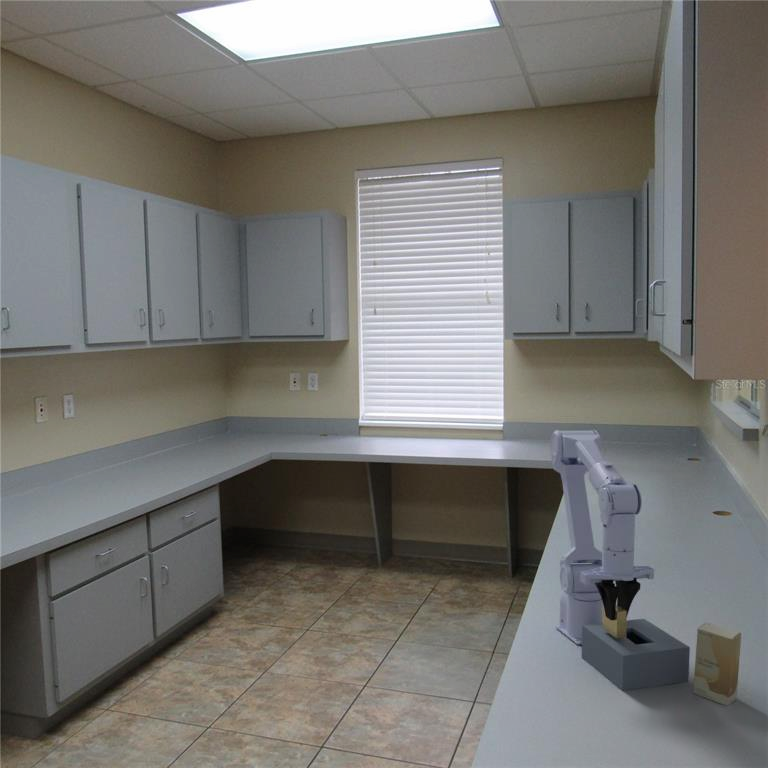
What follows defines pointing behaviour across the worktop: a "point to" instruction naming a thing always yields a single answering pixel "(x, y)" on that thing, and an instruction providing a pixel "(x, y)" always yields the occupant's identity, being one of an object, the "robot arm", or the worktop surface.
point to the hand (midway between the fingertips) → (616, 617)
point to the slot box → (636, 655)
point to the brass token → (616, 623)
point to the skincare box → (717, 663)
